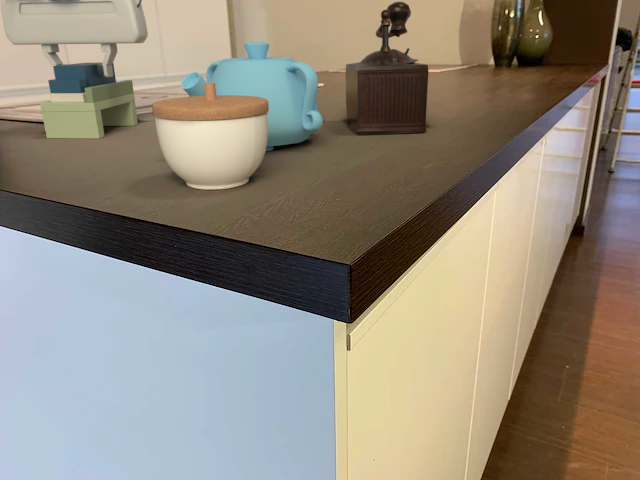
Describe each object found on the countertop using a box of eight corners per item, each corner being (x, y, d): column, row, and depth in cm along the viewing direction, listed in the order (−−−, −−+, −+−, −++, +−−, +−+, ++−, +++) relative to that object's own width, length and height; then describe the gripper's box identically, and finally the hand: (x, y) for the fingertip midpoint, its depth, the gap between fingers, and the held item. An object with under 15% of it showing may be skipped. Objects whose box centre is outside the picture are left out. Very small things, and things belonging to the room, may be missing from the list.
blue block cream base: (90, 93, 87) (85, 62, 85) (119, 93, 86) (115, 62, 84) (50, 102, 76) (44, 66, 75) (84, 102, 76) (78, 66, 74)
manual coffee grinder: (431, 132, 77) (440, -5, 71) (355, 135, 76) (357, -4, 70) (403, 117, 92) (408, 2, 85) (339, 119, 90) (339, 3, 84)
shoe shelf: (46, 138, 77) (36, 88, 75) (92, 124, 89) (85, 80, 87) (99, 138, 77) (91, 87, 74) (138, 124, 89) (132, 80, 86)
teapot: (355, 141, 72) (356, 40, 67) (253, 171, 57) (246, 44, 52) (247, 128, 83) (242, 41, 78) (138, 151, 68) (123, 44, 63)
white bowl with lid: (217, 164, 60) (209, 77, 57) (293, 177, 54) (290, 80, 51) (138, 186, 52) (124, 85, 48) (218, 203, 46) (209, 90, 43)
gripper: (148, -26, 77) (159, 75, 82) (15, -22, 79) (34, 75, 84) (128, -31, 71) (142, 78, 76) (-15, -27, 73) (7, 79, 78)
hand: (84, 77), depth 80 cm, fingers open, 5 cm apart
